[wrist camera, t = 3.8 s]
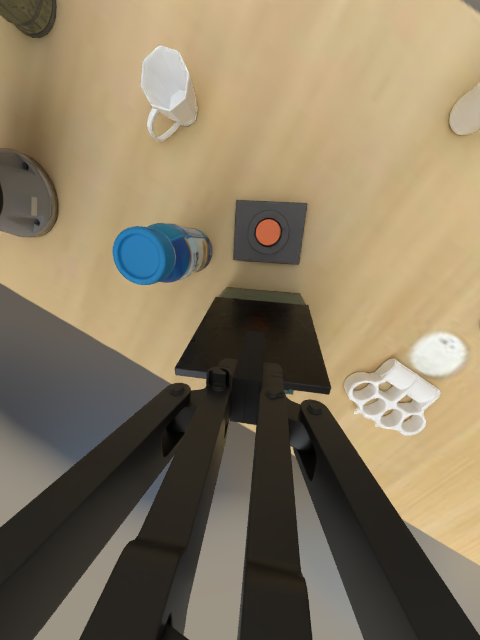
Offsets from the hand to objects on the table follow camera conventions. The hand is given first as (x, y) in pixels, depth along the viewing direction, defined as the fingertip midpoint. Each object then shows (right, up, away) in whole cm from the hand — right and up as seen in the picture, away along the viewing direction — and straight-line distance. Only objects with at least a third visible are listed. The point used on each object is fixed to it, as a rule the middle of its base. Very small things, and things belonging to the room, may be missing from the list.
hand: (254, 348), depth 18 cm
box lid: (+1, 0, +11) cm, 11 cm away
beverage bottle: (-10, +16, +28) cm, 34 cm away
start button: (+4, +17, +21) cm, 28 cm away
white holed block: (+30, -14, +32) cm, 47 cm away
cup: (-11, +36, +21) cm, 43 cm away
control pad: (+4, +18, +25) cm, 31 cm away
